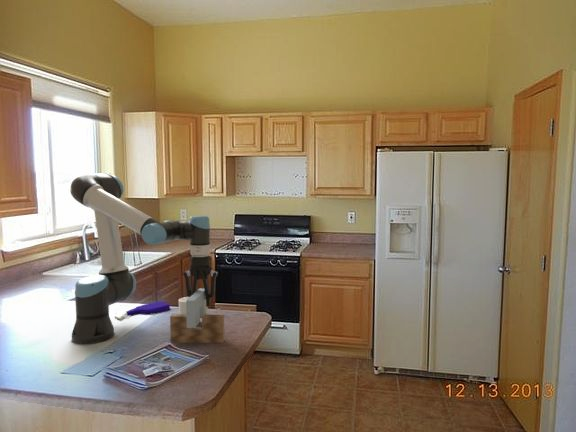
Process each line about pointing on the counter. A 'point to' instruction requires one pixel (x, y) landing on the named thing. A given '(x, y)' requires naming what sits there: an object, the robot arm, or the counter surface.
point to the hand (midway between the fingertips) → (201, 314)
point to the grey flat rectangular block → (195, 308)
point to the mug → (182, 305)
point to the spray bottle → (145, 309)
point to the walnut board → (197, 329)
